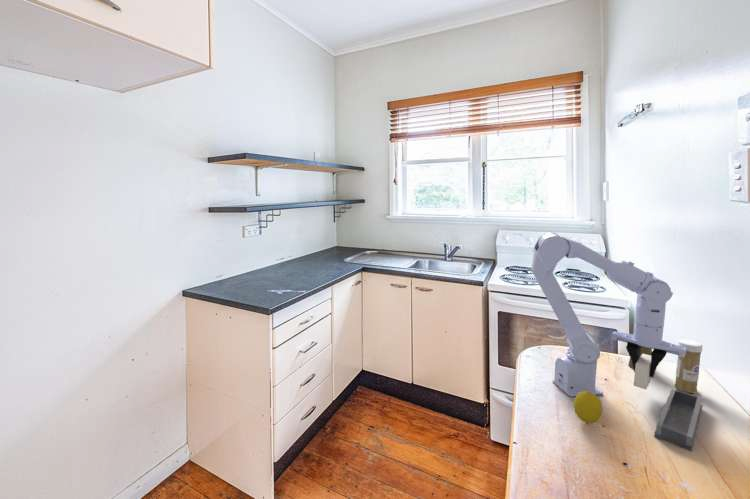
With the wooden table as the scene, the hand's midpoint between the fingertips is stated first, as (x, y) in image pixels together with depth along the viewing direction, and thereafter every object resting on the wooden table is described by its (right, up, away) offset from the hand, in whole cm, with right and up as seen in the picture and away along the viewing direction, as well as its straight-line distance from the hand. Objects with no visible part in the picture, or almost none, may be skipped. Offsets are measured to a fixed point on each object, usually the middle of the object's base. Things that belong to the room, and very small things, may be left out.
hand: (644, 373), depth 86 cm
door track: (+1, -8, -9) cm, 12 cm away
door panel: (0, -2, 0) cm, 2 cm away
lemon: (-20, -9, -8) cm, 24 cm away
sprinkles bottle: (+14, -6, +3) cm, 15 cm away
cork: (+11, -4, +15) cm, 19 cm away
